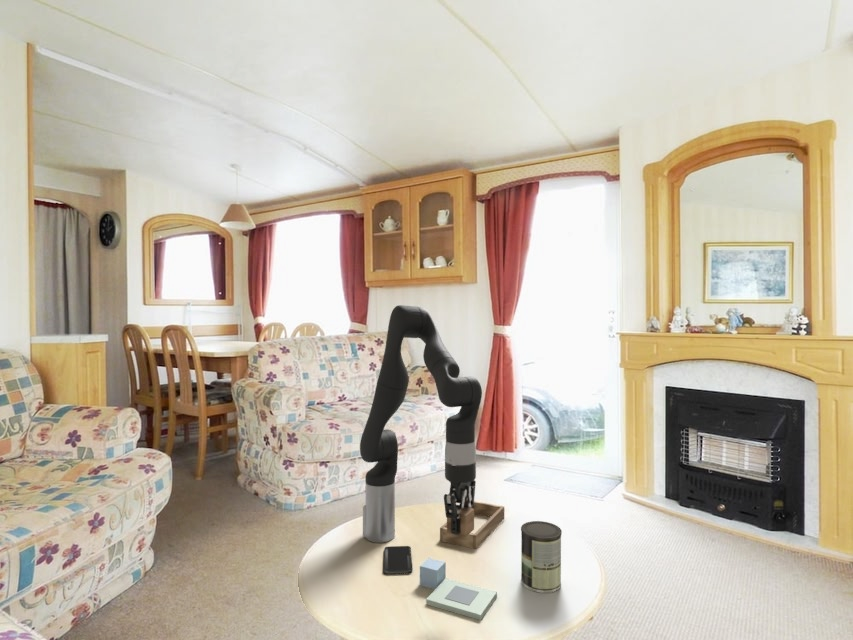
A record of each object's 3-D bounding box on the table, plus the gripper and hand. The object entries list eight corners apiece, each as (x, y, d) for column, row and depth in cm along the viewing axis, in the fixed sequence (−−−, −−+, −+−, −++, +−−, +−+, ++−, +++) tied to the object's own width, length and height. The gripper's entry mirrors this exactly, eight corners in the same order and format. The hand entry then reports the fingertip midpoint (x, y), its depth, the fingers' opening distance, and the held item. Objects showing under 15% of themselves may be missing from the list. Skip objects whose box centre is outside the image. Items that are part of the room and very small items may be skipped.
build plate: (426, 604, 122) (426, 598, 122) (445, 582, 131) (445, 577, 131) (480, 620, 115) (480, 614, 115) (496, 596, 125) (496, 591, 125)
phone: (383, 572, 135) (384, 546, 150) (383, 576, 135) (384, 550, 150) (412, 571, 136) (411, 545, 151) (412, 575, 136) (411, 549, 151)
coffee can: (513, 584, 131) (513, 529, 131) (532, 568, 139) (532, 517, 139) (550, 598, 124) (550, 541, 124) (568, 581, 132) (568, 527, 132)
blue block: (419, 585, 130) (419, 566, 130) (428, 576, 135) (428, 557, 135) (437, 590, 128) (437, 570, 128) (445, 581, 133) (445, 562, 132)
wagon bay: (440, 540, 156) (440, 527, 156) (471, 511, 179) (471, 500, 179) (476, 549, 151) (476, 535, 150) (504, 518, 174) (504, 506, 174)
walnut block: (446, 532, 122) (446, 512, 122) (455, 525, 126) (455, 505, 126) (465, 537, 120) (465, 515, 120) (474, 529, 124) (474, 508, 124)
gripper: (458, 450, 131) (458, 516, 131) (433, 464, 118) (433, 537, 118) (485, 454, 127) (485, 521, 127) (462, 469, 115) (462, 544, 115)
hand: (460, 528), depth 123 cm, fingers closed on walnut block, 5 cm apart
